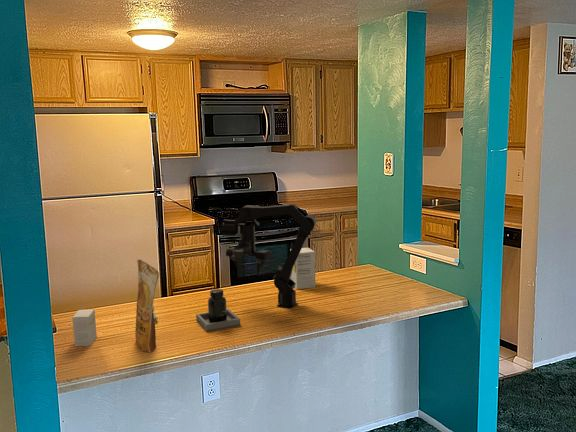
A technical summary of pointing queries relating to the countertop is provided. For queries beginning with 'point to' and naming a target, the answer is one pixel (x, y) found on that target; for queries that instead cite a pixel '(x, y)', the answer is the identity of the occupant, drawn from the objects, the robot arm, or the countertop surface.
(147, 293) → the pancake mix bag
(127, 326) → the countertop surface
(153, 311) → the pacifier
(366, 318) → the countertop surface
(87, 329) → the small box
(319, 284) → the countertop surface
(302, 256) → the supplement box
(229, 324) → the tray
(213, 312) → the supplement bottle
